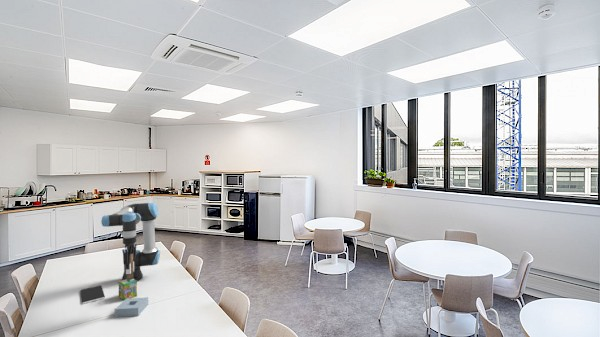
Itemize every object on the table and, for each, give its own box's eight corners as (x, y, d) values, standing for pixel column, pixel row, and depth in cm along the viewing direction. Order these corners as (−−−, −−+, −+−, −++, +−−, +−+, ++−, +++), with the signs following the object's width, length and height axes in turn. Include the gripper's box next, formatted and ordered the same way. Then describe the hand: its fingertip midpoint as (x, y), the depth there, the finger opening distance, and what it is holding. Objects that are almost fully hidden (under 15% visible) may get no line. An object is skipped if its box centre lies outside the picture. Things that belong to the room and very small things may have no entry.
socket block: (126, 305, 191) (126, 298, 191) (148, 304, 192) (148, 297, 192) (115, 317, 177) (114, 309, 177) (138, 315, 178) (138, 307, 178)
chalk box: (118, 297, 203) (117, 277, 203) (132, 292, 210) (131, 273, 210) (123, 301, 198) (122, 280, 197) (137, 296, 205) (137, 276, 205)
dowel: (128, 277, 186) (128, 253, 186) (134, 277, 186) (134, 253, 186) (125, 279, 182) (125, 255, 182) (131, 279, 182) (131, 255, 182)
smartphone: (81, 305, 193) (81, 303, 193) (80, 291, 214) (80, 289, 213) (105, 299, 201) (105, 297, 201) (101, 286, 222) (101, 284, 222)
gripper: (130, 234, 192) (130, 268, 192) (116, 240, 175) (116, 277, 175) (141, 233, 192) (142, 267, 193) (128, 239, 176) (129, 277, 176)
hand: (130, 272), depth 184 cm, fingers closed on dowel, 3 cm apart
